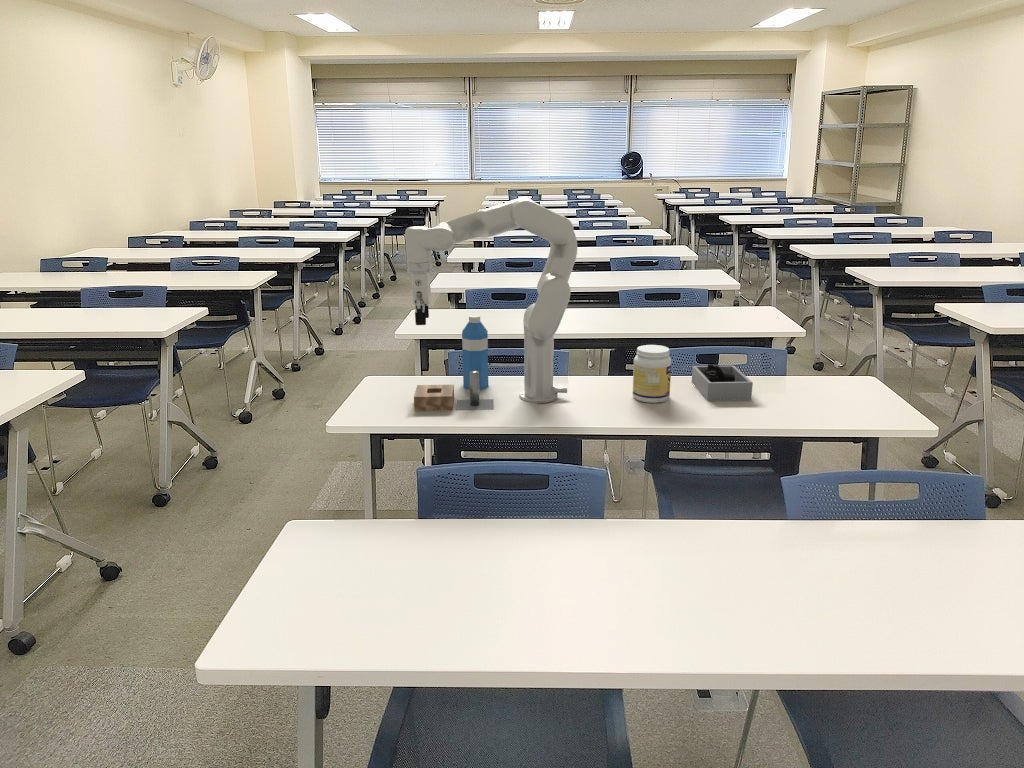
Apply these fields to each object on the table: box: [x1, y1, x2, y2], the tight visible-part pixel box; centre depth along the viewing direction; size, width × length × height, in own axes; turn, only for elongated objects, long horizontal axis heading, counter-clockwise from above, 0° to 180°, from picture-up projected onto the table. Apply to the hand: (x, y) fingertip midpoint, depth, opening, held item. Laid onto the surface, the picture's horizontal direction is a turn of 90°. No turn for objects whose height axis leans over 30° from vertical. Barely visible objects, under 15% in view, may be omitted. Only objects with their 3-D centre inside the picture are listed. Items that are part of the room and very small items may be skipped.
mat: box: [455, 398, 495, 411], centre depth 239 cm, size 12×10×1 cm
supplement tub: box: [632, 344, 672, 404], centre depth 242 cm, size 12×12×17 cm
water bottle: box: [461, 314, 489, 390], centre depth 254 cm, size 9×9×25 cm
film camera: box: [705, 363, 735, 382], centre depth 250 cm, size 15×10×9 cm, turn 168°
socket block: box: [413, 384, 455, 412], centre depth 238 cm, size 12×12×5 cm
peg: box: [469, 370, 481, 406], centre depth 237 cm, size 3×3×11 cm
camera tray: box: [691, 365, 754, 402], centre depth 250 cm, size 14×20×6 cm
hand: (422, 321), depth 234 cm, fingers open, 9 cm apart
